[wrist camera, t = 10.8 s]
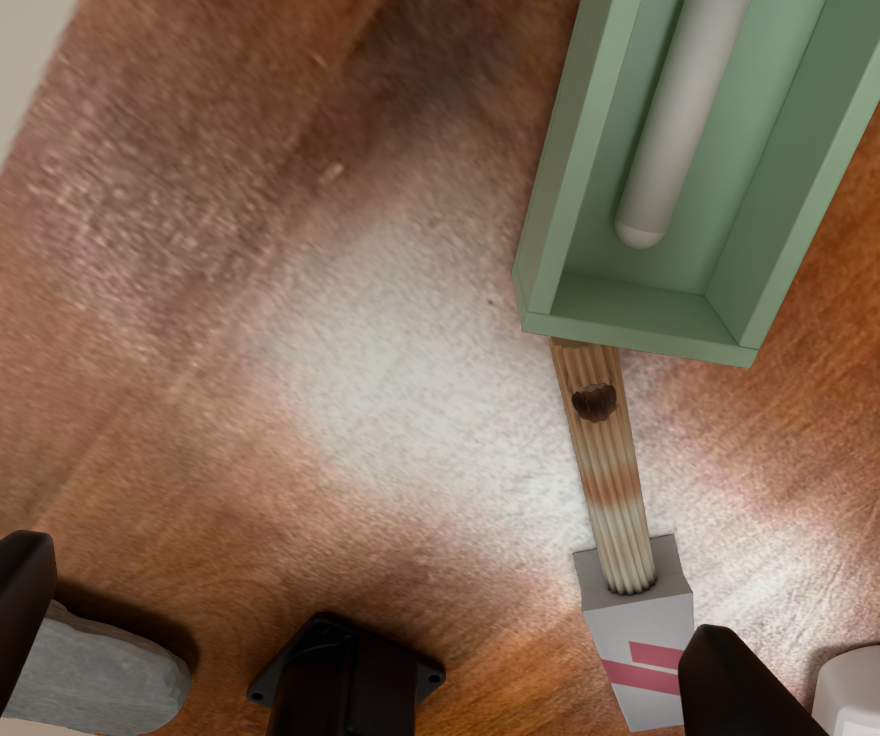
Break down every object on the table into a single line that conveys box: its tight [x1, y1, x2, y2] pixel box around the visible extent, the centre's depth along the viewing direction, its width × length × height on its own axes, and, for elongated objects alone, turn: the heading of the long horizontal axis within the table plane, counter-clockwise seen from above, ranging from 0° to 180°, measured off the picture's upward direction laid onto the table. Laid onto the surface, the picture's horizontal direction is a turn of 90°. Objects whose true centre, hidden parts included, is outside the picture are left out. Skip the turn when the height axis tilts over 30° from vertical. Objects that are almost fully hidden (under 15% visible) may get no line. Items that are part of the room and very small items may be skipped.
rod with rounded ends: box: [614, 0, 751, 249], centre depth 18 cm, size 7×1×1 cm, turn 170°
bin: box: [511, 0, 880, 369], centre depth 17 cm, size 11×6×4 cm, turn 170°
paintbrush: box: [550, 336, 694, 732], centre depth 26 cm, size 4×3×20 cm
